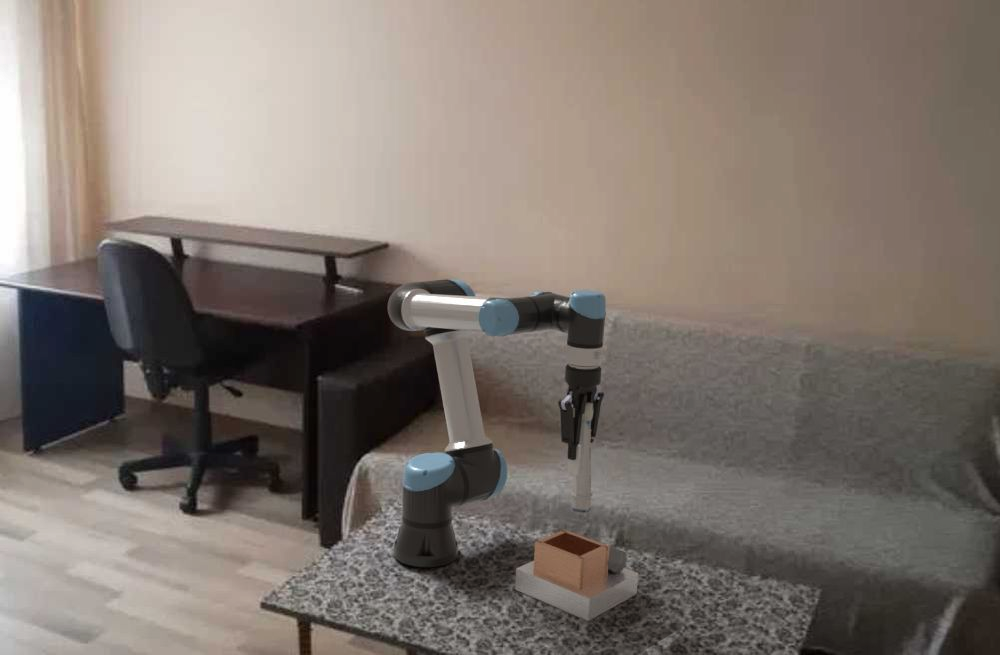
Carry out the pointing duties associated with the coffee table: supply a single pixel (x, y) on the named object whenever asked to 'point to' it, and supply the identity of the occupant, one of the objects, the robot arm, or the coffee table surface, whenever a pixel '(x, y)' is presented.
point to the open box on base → (577, 575)
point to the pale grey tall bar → (583, 465)
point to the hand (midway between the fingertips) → (576, 471)
